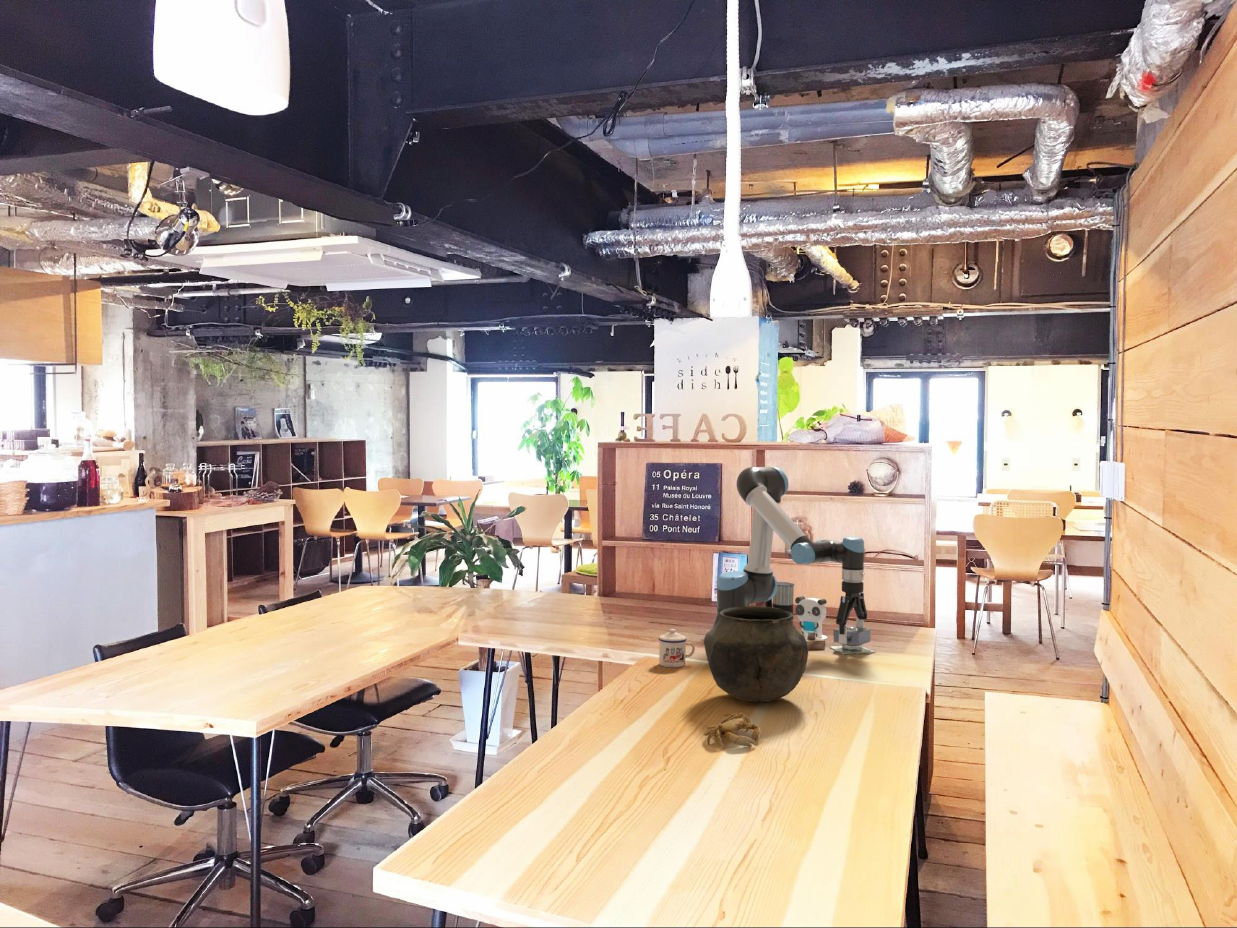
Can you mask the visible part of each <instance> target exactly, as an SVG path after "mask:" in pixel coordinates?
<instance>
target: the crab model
mask: <svg viewBox="0 0 1237 928" xmlns="http://www.w3.org/2000/svg"><path fill="white" fill-rule="evenodd" d="M727 716H729V717H727ZM722 717H727V719H724V720H723V721H721V722H720V723H717V724H715V725H710V726H705V729H709V730H707V731H706V732H705V733H703V736H704V737H706V736H707V739H706V742H707V745H710V744H711V739H712V737H716V738H717V742H718V743H719V745H720V746H721V747H722V749H723V750H725V749H726V747H725V745H724V744H723V742H722V738H721V737H722V736H724V737H726V738H727V739H728V740H729V741H730V742H732V743H734V744H735V745H737V746H743V747H748V748H752V747H753V745H754V746H756V744H758V742H759V740H760V738H761V733H762V731H761V728H760V725H759V724H757V723H753V722H752V721H751V719H750V717H749V716H748V715H746V714H744V713H743V712H739V713H734V712H731V713H730V712H729V713H727V714H724V715H723V714H722ZM744 721H745V722H744ZM740 730H745V733H747V732H748V731H750V730H752V734H751V737H749V736H745V735H737V734H735V733H734V732H737V731H740Z"/></svg>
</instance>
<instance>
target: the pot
mask: <svg viewBox="0 0 1237 928" xmlns="http://www.w3.org/2000/svg"><path fill="white" fill-rule="evenodd" d="M793 617H794V613H793V614H792V613H790V612H788V611H785V610H782V609H778V608H773V606H772V607H766V606H761V605H751V606H748V605H747V606H746V607H734V608H728V609H724V610H722V611H721V612H720V615H719V621H718V623H717V624H716V625H715V626H714V627H713V628H712V627H711V629H710V630H709V631H707V632H706V634H705V636H704V638H703V639H704V641H703V643H704V651H705V655H706V660H707V665H708V667H709V671H710V673H711V676H712V678H713V680H714V682H715V684H716V685H717V687H718V688H720V689H721V690H722V691H724V693H727V694H729V695H730V696H731V697H733V698H736V699H737V700H741V701H744V702H745V701H746V702H754V703H759V702H760V703H763V702H770V701H771V702H772V701H775V700H777V699H781V698H783V697H787V696H788V695H789V694H790V693H791V692H792V691H793V690H794V689H795V688H797V686H798V685H799V682H800V681H801V679H802V677H803V676H804V672H805V671H806V667H807V663H808V658H809V650H808V646H807V642H806V639H805V637H804V635H802V632H801V631H799V630H798V629H797V627H796V626H795V625H794V622H793V619H792V618H793Z"/></svg>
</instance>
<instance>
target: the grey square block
mask: <svg viewBox="0 0 1237 928" xmlns="http://www.w3.org/2000/svg"><path fill="white" fill-rule="evenodd" d="M848 627H854V626H852V625H847V644H850V645H857V646H859V645H862V646H863V645H864V644H867V643H870V642H871V628H867V627H866V628H865V627H864V628H860V627H856V626H855V627H856V631H852V630H848ZM833 643H838V644H840V643H839V627H837V628H834V629H833Z"/></svg>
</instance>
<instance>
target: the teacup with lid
mask: <svg viewBox="0 0 1237 928" xmlns="http://www.w3.org/2000/svg"><path fill="white" fill-rule="evenodd" d="M658 641H659V648H658V649H659V652H658V655H659V656H658V657H659V659H658V661H659V662H658V663H659V665H660V666H662V667H664V668H674V669H675V668H682V667H685V665H686V658H687V659H688V658H691V657H692V656H693V655H694V654H695V651H696V646H695V644H694V643H693V642H691V641H690V642H689V641H687V637H686V636H684V635H682V634H680V633H679V632H677V629H675V628H670V629H669V631H668V632H666V633H665V634H661V635H660V636H659V637H658ZM687 645H690V646H691V647H692V650H691V652H690V653H689V654H686V647H687Z"/></svg>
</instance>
